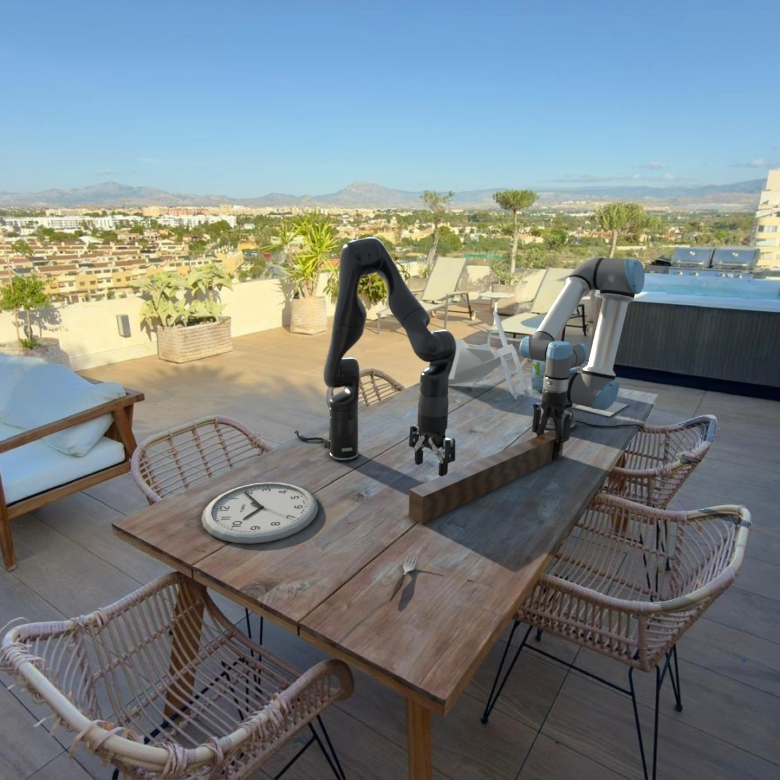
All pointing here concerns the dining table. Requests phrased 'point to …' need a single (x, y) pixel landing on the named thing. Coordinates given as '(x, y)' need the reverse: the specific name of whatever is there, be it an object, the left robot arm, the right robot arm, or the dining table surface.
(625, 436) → the dining table surface
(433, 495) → the beam
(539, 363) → the lunch box
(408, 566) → the fork
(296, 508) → the wall clock
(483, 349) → the white plastic object
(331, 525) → the dining table surface
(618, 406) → the invitation card
